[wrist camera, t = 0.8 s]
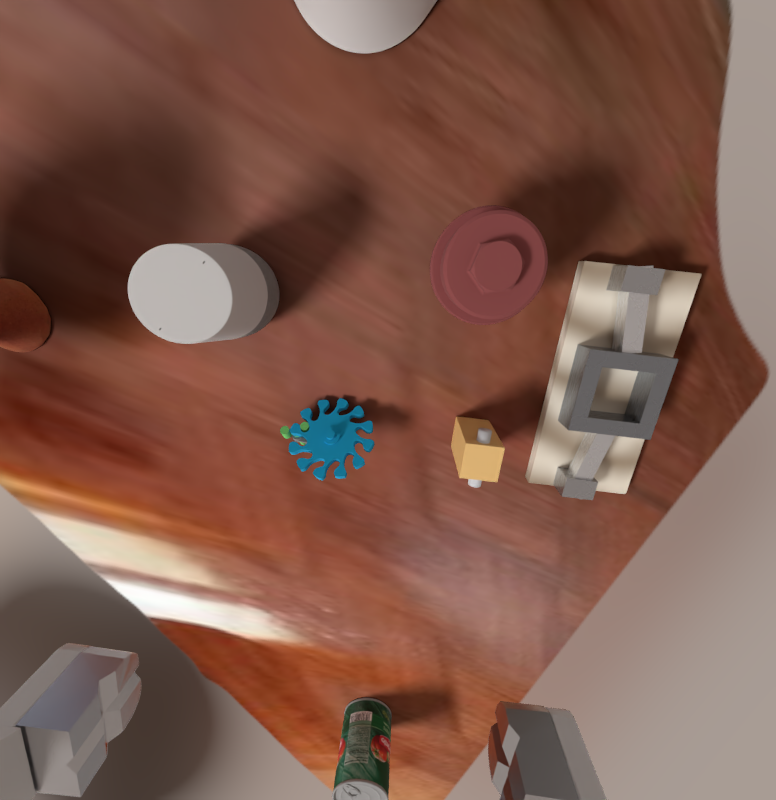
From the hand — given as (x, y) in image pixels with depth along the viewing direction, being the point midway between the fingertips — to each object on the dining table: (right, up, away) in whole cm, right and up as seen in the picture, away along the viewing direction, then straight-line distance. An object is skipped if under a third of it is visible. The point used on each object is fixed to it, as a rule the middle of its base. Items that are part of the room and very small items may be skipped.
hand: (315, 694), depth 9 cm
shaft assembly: (+26, +8, +34) cm, 44 cm away
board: (+27, +8, +36) cm, 45 cm away
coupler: (+12, +2, +39) cm, 40 cm away
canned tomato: (-2, -46, +55) cm, 71 cm away
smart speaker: (-15, +19, +35) cm, 42 cm away
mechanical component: (+11, +21, +33) cm, 40 cm away
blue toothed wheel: (-5, +3, +39) cm, 40 cm away
